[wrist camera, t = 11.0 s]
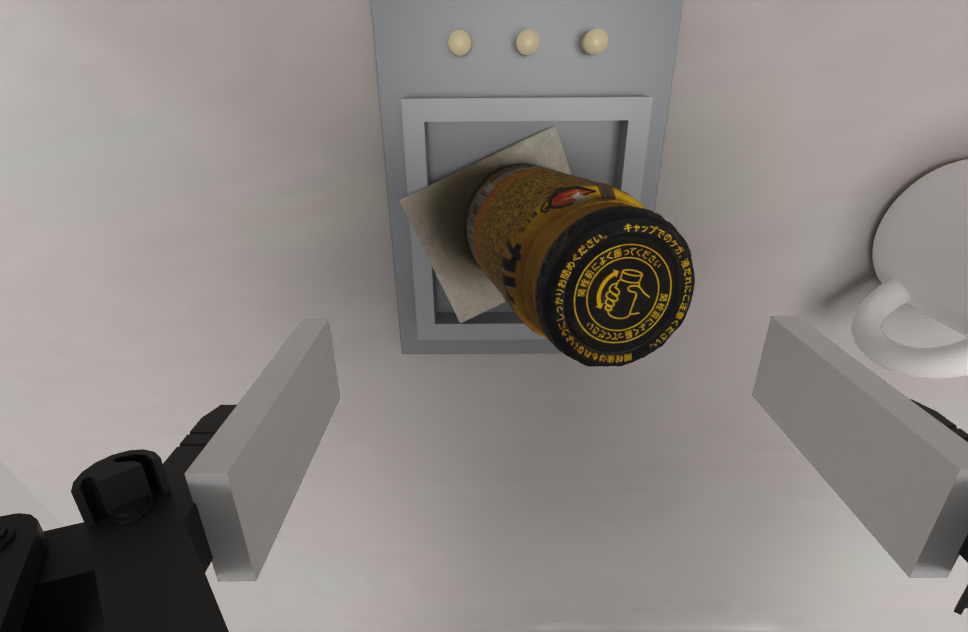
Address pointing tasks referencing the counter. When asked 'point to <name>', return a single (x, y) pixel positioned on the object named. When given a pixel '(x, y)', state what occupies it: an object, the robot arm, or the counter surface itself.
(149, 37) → the counter surface
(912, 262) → the mug
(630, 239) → the condiment
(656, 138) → the dock
